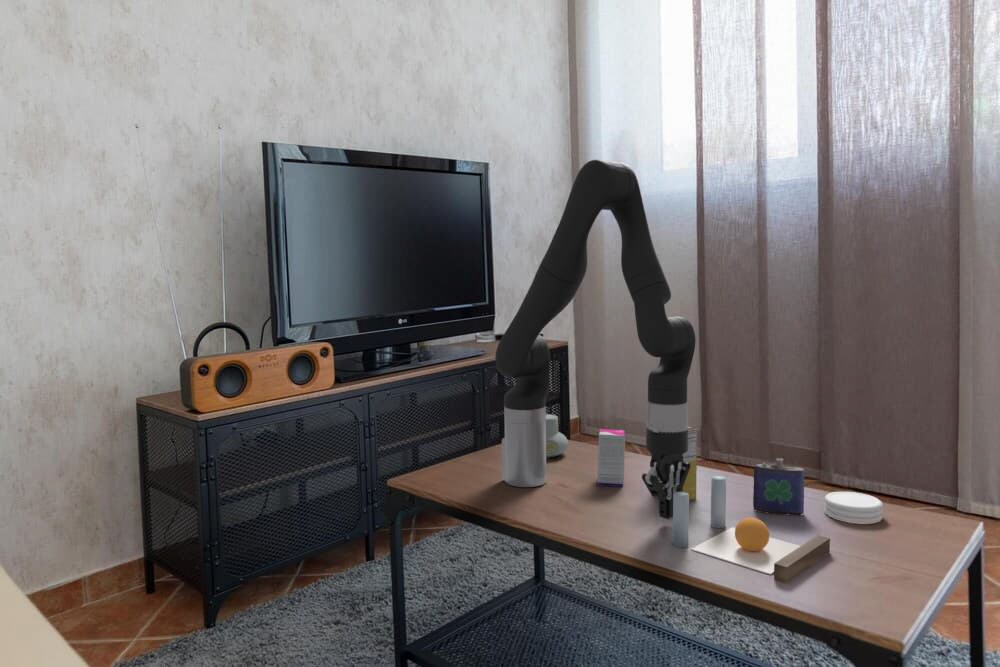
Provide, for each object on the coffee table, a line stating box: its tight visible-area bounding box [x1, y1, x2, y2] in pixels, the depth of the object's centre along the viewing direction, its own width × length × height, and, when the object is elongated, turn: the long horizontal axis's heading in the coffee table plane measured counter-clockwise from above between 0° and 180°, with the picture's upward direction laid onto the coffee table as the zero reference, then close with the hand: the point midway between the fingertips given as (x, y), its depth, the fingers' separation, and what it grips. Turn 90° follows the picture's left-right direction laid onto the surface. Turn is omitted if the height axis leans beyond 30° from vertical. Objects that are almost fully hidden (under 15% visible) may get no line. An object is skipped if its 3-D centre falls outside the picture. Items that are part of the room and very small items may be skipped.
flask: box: [752, 457, 805, 516], centre depth 139 cm, size 9×3×11 cm, turn 68°
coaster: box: [823, 491, 884, 522], centre depth 137 cm, size 10×10×4 cm
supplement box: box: [597, 428, 626, 487], centre depth 159 cm, size 6×6×12 cm
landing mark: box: [690, 526, 801, 576], centre depth 121 cm, size 14×14×1 cm
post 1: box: [672, 492, 690, 549], centre depth 123 cm, size 3×3×9 cm
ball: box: [734, 517, 770, 551], centre depth 121 cm, size 6×6×6 cm
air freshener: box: [546, 413, 569, 459], centre depth 183 cm, size 11×8×10 cm
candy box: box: [681, 424, 698, 501], centre depth 149 cm, size 9×4×15 cm, turn 28°
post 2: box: [710, 475, 727, 529], centre depth 132 cm, size 3×3×9 cm
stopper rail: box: [773, 534, 831, 584], centre depth 114 cm, size 2×16×2 cm, turn 134°
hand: (666, 517), depth 133 cm, fingers closed
